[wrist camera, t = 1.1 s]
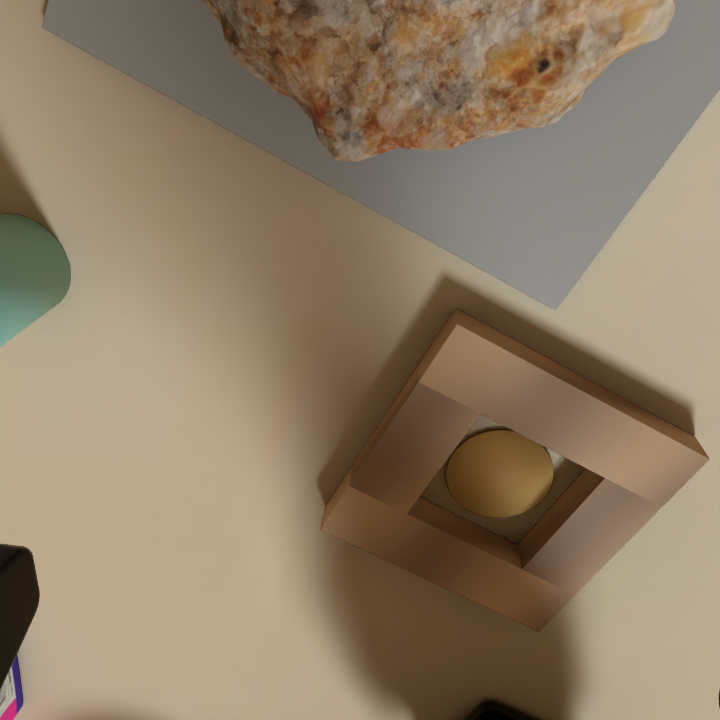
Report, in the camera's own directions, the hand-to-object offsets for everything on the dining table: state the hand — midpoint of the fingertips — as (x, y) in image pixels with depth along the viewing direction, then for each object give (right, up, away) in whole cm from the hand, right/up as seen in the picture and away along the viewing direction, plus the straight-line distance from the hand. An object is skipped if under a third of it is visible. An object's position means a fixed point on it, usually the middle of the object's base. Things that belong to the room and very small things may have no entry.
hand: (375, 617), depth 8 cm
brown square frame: (+5, -1, +14) cm, 15 cm away
